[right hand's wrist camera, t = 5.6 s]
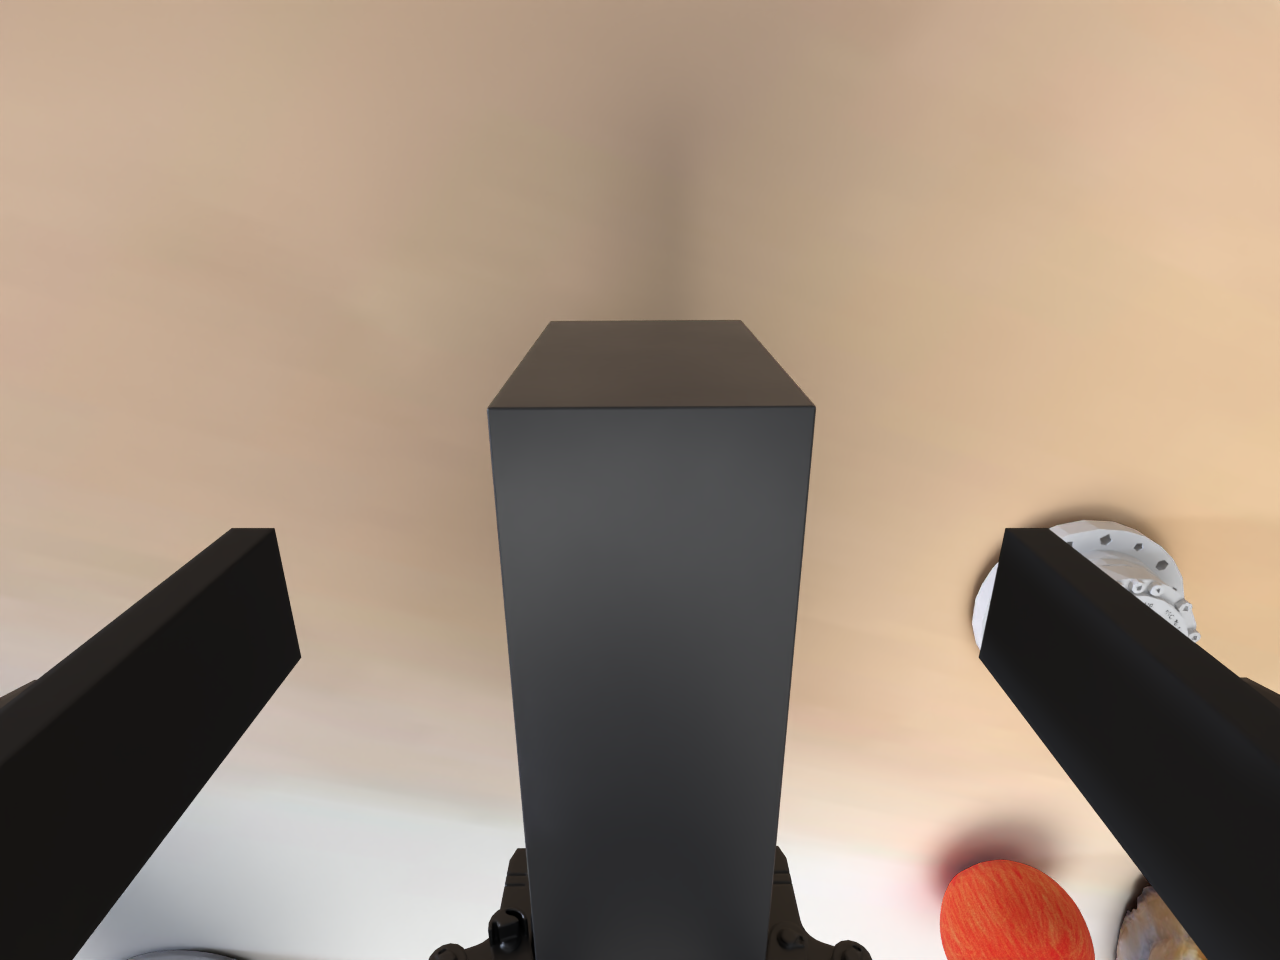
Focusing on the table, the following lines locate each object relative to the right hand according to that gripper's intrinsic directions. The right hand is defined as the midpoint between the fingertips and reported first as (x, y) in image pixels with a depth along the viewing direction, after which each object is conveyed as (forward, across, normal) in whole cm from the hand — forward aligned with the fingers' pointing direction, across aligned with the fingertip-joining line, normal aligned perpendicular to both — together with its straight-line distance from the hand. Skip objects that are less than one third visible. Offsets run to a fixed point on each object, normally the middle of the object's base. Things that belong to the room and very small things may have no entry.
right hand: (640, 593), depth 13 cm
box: (+12, 0, -8) cm, 14 cm away
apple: (+21, +22, -33) cm, 45 cm away
